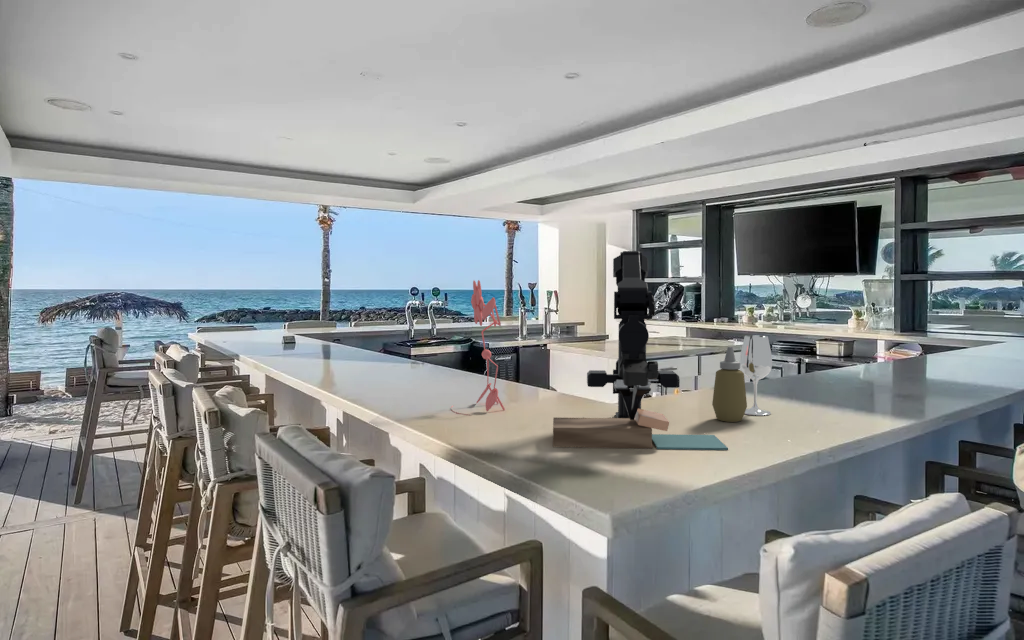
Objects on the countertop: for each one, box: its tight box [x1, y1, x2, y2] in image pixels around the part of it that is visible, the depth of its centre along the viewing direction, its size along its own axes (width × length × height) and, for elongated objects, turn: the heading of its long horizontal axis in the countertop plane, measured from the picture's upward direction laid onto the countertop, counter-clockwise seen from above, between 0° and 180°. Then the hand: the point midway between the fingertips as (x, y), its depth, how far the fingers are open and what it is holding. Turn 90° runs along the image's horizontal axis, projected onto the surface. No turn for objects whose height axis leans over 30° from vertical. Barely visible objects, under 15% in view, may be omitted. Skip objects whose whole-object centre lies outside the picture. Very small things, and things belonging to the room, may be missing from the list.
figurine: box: [451, 279, 506, 416], centre depth 166 cm, size 15×26×35 cm, turn 12°
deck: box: [552, 417, 653, 449], centre depth 130 cm, size 10×20×4 cm, turn 86°
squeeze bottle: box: [711, 346, 748, 423], centre depth 150 cm, size 8×8×18 cm
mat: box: [652, 433, 729, 451], centre depth 129 cm, size 11×14×1 cm
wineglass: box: [739, 334, 773, 417], centre depth 158 cm, size 8×8×20 cm
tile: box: [634, 408, 670, 432], centre depth 129 cm, size 8×6×2 cm
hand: (631, 419), depth 129 cm, fingers closed
